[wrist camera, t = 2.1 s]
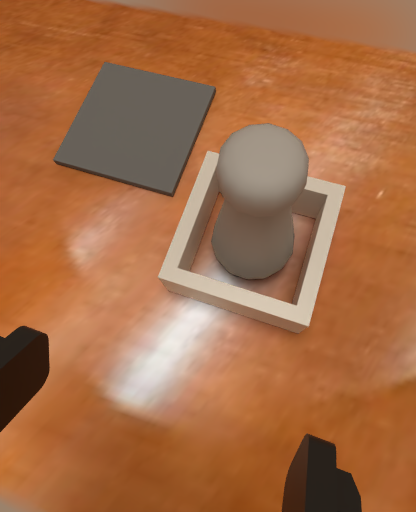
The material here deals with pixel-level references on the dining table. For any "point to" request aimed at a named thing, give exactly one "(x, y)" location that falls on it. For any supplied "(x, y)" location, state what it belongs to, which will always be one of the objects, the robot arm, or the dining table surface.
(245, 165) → the salt shaker
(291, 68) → the dining table surface
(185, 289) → the collar
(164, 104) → the mat
